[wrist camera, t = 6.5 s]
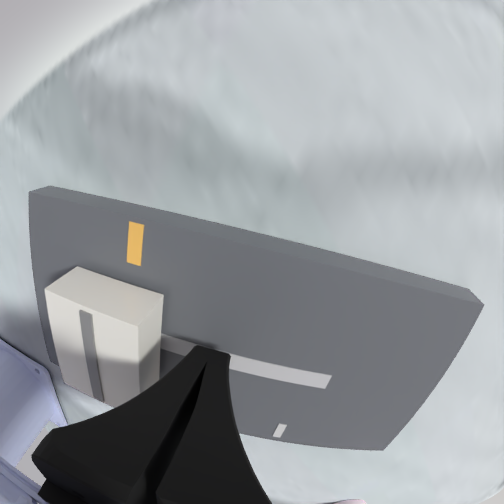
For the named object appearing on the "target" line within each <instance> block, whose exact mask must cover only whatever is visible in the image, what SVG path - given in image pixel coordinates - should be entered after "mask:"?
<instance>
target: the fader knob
mask: <svg viewBox="0 0 504 504" xmlns="http://www.w3.org/2000/svg"><path fill="white" fill-rule="evenodd" d="M45 297H46V303H47V310H48V315H49V321H50V326H51V331H52V336H53V341H54V345H55V350H56V354H57V358H58V362H59V366H60V370H61V373H62V377H63V380H64V383H65V384H67V385H69V386H71V387H73V388H75V389H76V390H78V391H80V392H82V393H84V394H86V395H88V396H90V397H93V398H95V399H97V400H99V401H101V402H103V403H105V404H108V405H110V406H112V407H114V408H116V407H118V406H120V405H122V404H123V403H125V402H127V401H129V400H131V399H132V398H134V397H136V396H137V395H139V394H140V393H142V392H143V391H145V390H146V389H148V388H149V387H150V386H152V385H153V384H154V383H156V382H157V381H158V380H159V370H160V344H161V326H162V311H163V297H164V295H163V294H160V293H156V292H153V291H150V290H147V289H144V288H140V287H137V286H134V285H131V284H128V283H125V282H122V281H119V280H116V279H113V278H110V277H107V276H104V275H101V274H98V273H95V272H92V271H90V270H87V269H84V268H81V267H78V266H77V267H75V268H74V269H72V270H71V271H69V272H68V273H66V274H65V275H64V276H62V277H61V278H59V279H58V280H56V281H55V282H53V283H52V284H51V285H49V286H48V287H46V288H45Z"/></svg>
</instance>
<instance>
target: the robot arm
mask: <svg viewBox="0 0 504 504" xmlns="http://www.w3.org/2000/svg"><path fill="white" fill-rule="evenodd" d="M230 359H231V356H230V354H229V353H226V352H222V351H218V350H215V349H211V348H207V347H204V346H200V345H196V346H194V347H193V349H192V350H191V351H190V352H189V353H188V354H187V355H186V356H185V357H184V358H183V359H182V360H181V361H180V362H179V363H178V364H177V365H176V366H175V367H174V368H173V369H172V370H170V371H169V372H168V373H167V374H166V375H165V376H164V377H162V378H161V379H160V380H158V381H157V382H156V383H154V384H153V385H152V386H150V387H149V388H148V389H146V390H145V391H143V392H142V393H140V394H139V395H137V396H136V397H134V398H132V399H131V400H129V401H127V402H125V403H123V404H122V405H120V406H118V407H116V408H114V409H112V410H110V411H107V412H105V413H103V414H100V415H98V416H95V417H93V418H90V419H87V420H85V421H82V422H78V423H75V424H71V425H68V424H67V422H66V419H65V417H64V414H63V412H62V409H61V406H60V404H59V401H58V398H57V395H56V393H55V390H54V387H53V384H52V381H51V378H50V374H49V372H48V371H47V369H46V368H44V367H43V366H41V365H40V364H38V363H36V362H35V361H33V360H31V359H30V358H28V357H27V356H25V355H24V354H22V353H20V352H19V351H17V350H16V349H14V348H13V347H11V346H10V345H9V344H7V343H6V342H4V341H3V340H1V339H0V504H37V502H38V503H39V504H272V503H271V501H270V500H269V498H268V496H267V495H266V493H265V491H264V490H263V488H262V486H261V485H260V483H259V481H258V479H257V477H256V475H255V473H254V471H253V469H252V466H251V464H250V462H249V460H248V457H247V455H246V452H245V450H244V447H243V444H242V441H241V439H240V435H239V432H238V429H237V425H236V421H235V417H234V412H233V407H232V401H231V393H230V384H229V365H230ZM48 421H51V422H53V423H54V424H56V425H58V426H59V428H55V429H52V430H51V431H50V432H49V434H48V435H46V436H45V438H44V439H43V440H42V441H41V443H40V444H39V445H38V447H37V448H36V450H35V451H34V453H33V454H32V461H33V462H34V464H35V465H36V467H37V468H38V469H39V470H40V472H41V473H42V474H43V475H44V477H45V478H46V481H45V482H44V484H43V485H42V487H41V486H40V485H38V484H37V483H35V482H34V481H32V480H31V479H30V478H28V477H27V476H25V475H24V474H23V473H21V472H20V471H19V470H17V469H16V468H15V467H16V465H17V464H18V463H19V461H20V460H21V458H22V457H23V455H24V454H25V453H26V451H27V450H28V448H29V447H30V446H31V444H32V443H33V441H34V440H35V438H36V437H37V436H38V435H39V433H40V432H41V430H42V429H43V428H44V426H45V425H46V424H47V422H48Z"/></svg>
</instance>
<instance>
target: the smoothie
mask: <svg viewBox="0 0 504 504" xmlns="http://www.w3.org/2000/svg"><path fill="white" fill-rule="evenodd" d="M333 504H366V501H364V500H360V499H353V500H345V501H340V502H336V503H333Z"/></svg>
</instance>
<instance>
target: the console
mask: <svg viewBox="0 0 504 504" xmlns="http://www.w3.org/2000/svg"><path fill="white" fill-rule="evenodd" d="M29 232H30V247H31V259H32V269H33V277H34V284H35V291H36V298H37V304H38V310H39V315H40V320H41V325H42V330H43V334H44V339H45V343H46V347H47V351H48V355H49V359H50V361H51V362H53V363H55V364H57V365H58V366H59V362H58V358H57V354H56V350H55V345H54V341H53V336H52V331H51V326H50V321H49V315H48V310H47V303H46V297H45V288H46V287H48V286H49V285H51V284H52V283H53V282H55V281H56V280H58V279H59V278H61V277H62V276H64V275H65V274H66V273H68V272H69V271H71V270H72V269H74V268H75V267H77V266H78V267H81V268H84V269H87V270H90V271H92V272H95V273H98V274H101V275H104V276H107V277H110V278H113V279H116V280H119V281H122V282H125V283H128V284H131V285H134V286H137V287H140V288H144V289H147V290H150V291H153V292H156V293H160V294H163V295H164V297H163V311H162V326H161V344H160V370H159V380H160V379H161V378H162V377H164V376H165V375H166V374H167V373H168V372H169V371H170V370H172V369H173V368H174V367H175V366H176V365H177V364H178V363H179V362H180V361H181V360H182V359H183V358H184V357H185V356H186V355H187V354H188V353H189V352H190V351H191V350H192V349H193V347H194V346H196V345H200V346H204V347H207V348H211V349H215V350H218V351H222V352H226V353H229V354H230V356H231V359H230V365H229V384H230V393H231V401H232V407H233V412H234V417H235V421H236V425H237V429H238V432H239V433H241V434H245V435H250V436H255V437H260V438H265V439H270V440H276V441H282V442H288V443H295V444H302V445H310V446H318V447H328V448H340V449H355V450H384V449H385V448H386V447H387V446H388V445H389V444H390V443H391V441H392V440H393V439H394V438H395V437H396V436H397V435H398V434H399V432H400V431H401V430H402V429H403V428H404V427H405V425H406V424H407V423H408V422H409V421H410V419H411V418H412V417H413V416H414V415H415V413H416V412H417V411H418V409H419V408H420V407H421V406H422V404H423V403H424V402H425V400H426V399H427V398H428V396H429V395H430V394H431V392H432V391H433V390H434V388H435V387H436V385H437V384H438V382H439V381H440V380H441V378H442V377H443V375H444V374H445V372H446V371H447V369H448V368H449V366H450V365H451V363H452V361H453V360H454V358H455V357H456V355H457V353H458V352H459V350H460V349H461V347H462V345H463V343H464V342H465V340H466V338H467V337H468V335H469V333H470V331H471V329H472V328H473V326H474V324H475V322H476V320H477V318H478V316H479V314H480V312H481V310H482V308H483V306H484V304H483V303H482V302H481V301H480V300H479V299H478V298H477V297H476V296H475V295H474V294H473V293H472V292H471V291H470V290H469V289H467V288H463V287H460V286H456V285H453V284H449V283H446V282H442V281H439V280H435V279H431V278H428V277H424V276H421V275H417V274H413V273H410V272H406V271H402V270H399V269H395V268H391V267H388V266H384V265H380V264H377V263H373V262H369V261H365V260H362V259H358V258H354V257H350V256H346V255H343V254H339V253H335V252H331V251H327V250H323V249H320V248H316V247H312V246H308V245H304V244H300V243H296V242H292V241H288V240H284V239H280V238H276V237H272V236H268V235H264V234H260V233H256V232H252V231H248V230H244V229H240V228H235V227H231V226H227V225H223V224H219V223H215V222H210V221H206V220H202V219H198V218H194V217H189V216H185V215H181V214H176V213H172V212H168V211H163V210H159V209H155V208H150V207H146V206H141V205H137V204H132V203H128V202H123V201H119V200H114V199H110V198H105V197H101V196H96V195H91V194H87V193H82V192H77V191H73V190H68V189H63V188H58V187H53V186H47V187H44V188H40V189H37V190H33V191H30V192H29Z"/></svg>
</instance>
